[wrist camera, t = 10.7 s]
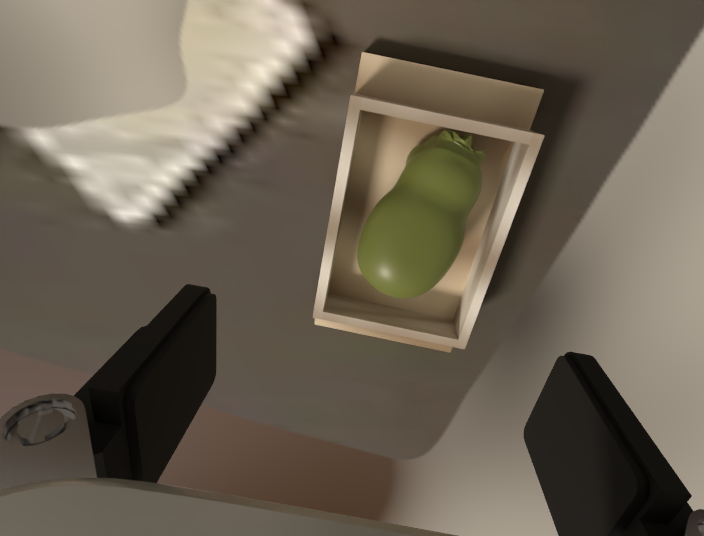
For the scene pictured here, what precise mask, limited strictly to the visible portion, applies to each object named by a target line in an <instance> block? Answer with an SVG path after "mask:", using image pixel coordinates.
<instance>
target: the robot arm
mask: <svg viewBox="0 0 704 536" xmlns="http://www.w3.org/2000/svg"><path fill="white" fill-rule="evenodd" d="M215 376H216V295H215V294H211V292H210V289H209V288H207V287H201V286H195V285H190V284H187V285H185V286H184V287H183V288H182V289H181V290H180V291H179V293H178V294H177V295H176V296H175V297H174V298H173V299H172V300H171V301H170V302H169V303H168V304H167V305H166V306H165V307H164V308H163V309H162V310H161V311H160V312H159V314H158V315H157V316H156V317H155V318H154V319H153V320H152V321H151V322H150V323H149V324H148V325H147V326H144V327H141V328H140V329H139V330H137V331H136V332H135V333H134V334H133V335H132V336H131V337H130V339H129V340H128V341H127V342H126V343H125V344H124V345H123V346H122V347H121V348H120V349H119V350H118V351H117V352H116V353H115V354H114V355H113V356H112V357H111V358H110V359H109V360H108V361H107V362H106V363H105V364H104V365H103V366H102V367H101V368H100V369H99V370H98V371H97V372H96V373H95V374H94V376H93V377H92V378H91V379H90V380H89V381H88V382H87V383H86V384H85V385H84V386H83V387H82V388H81V389H80V390H79V391H78V392H77V393H76V394H75V395H74V396H71V395H67V394H49V395H43V396H38V397H35V398H32V399H29V400H27V401H24V402H22V403H20V404H19V405H17V406H15V407H13V408H12V409H11V410H9V411H8V412H7V413H6V414H4V415H3V416H1V418H0V536H456V535H451V534H445V533H440V532H434V531H429V530H423V529H418V528H413V527H407V526H402V525H396V524H391V523H385V522H380V521H374V520H368V519H363V518H358V517H352V516H347V515H341V514H335V513H330V512H324V511H318V510H313V509H307V508H302V507H296V506H290V505H285V504H278V503H273V502H268V501H261V500H256V499H251V498H245V497H239V496H234V495H228V494H222V493H216V492H210V491H203V490H197V489H191V488H184V487H178V486H172V485H165V484H159V483H157V481H158V480H159V478H160V476H161V474H162V473H163V471H164V469H165V467H166V466H167V464H168V462H169V460H170V458H171V457H172V455H173V453H174V451H175V450H176V448H177V446H178V444H179V442H180V441H181V439H182V437H183V435H184V434H185V432H186V430H187V429H188V427H189V425H190V423H191V422H192V420H193V418H194V416H195V415H196V413H197V411H198V409H199V407H200V406H201V404H202V402H203V400H204V399H205V397H206V395H207V393H208V392H209V390H210V388H211V386H212V384H213V382H214V379H215ZM524 440H525V443H526V446H527V449H528V452H529V454H530V457H531V459H532V463H533V465H534V468H535V471H536V474H537V477H538V479H539V482H540V485H541V488H542V491H543V493H544V496H545V499H546V502H547V504H548V507H549V510H550V513H551V516H552V518H553V521H554V524H555V527H556V530H557V532H558V535H559V536H704V510H703V509H699V510H696V511H693V510H692V509H691V507H690V506H689V504H688V503H687V501H688V500H689V499H690V498H691V494H690V493H689V492H688V490H687V489H686V487H685V486H684V484H683V483H682V482H681V480H680V479H679V477H678V476H677V474H676V473H675V472H674V470H673V469H672V467H671V466H670V464H669V463H668V462H667V460H666V459H665V457H664V456H663V455H662V453H661V452H660V450H659V449H658V447H657V446H656V445H655V443H654V442H653V440H652V439H651V437H650V436H649V435H648V433H647V432H646V430H645V429H644V428H643V426H642V425H641V423H640V422H639V421H638V419H637V418H636V416H635V415H634V413H633V412H632V411H631V409H630V408H629V406H628V405H627V403H626V402H625V401H624V399H623V398H622V396H621V395H620V393H619V392H618V391H617V389H616V388H615V386H614V385H613V384H612V382H611V381H610V379H609V378H608V377H607V375H606V374H605V372H604V371H603V370H602V368H601V366H600V365H599V364H598V362H597V361H596V359H595V358H594V357H593V356H590V355H585V354H579V353H574V352H567V353H566V354H565V355H564V356H560V357H558V359H557V360H556V362H555V365H554V367H553V369H552V371H551V373H550V375H549V377H548V379H547V381H546V383H545V385H544V388H543V390H542V392H541V394H540V396H539V398H538V400H537V402H536V404H535V406H534V408H533V410H532V413H531V415H530V417H529V419H528V421H527V423H526V425H525V428H524Z"/></svg>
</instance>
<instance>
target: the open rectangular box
mask: <svg viewBox="0 0 704 536" xmlns="http://www.w3.org/2000/svg"><path fill="white" fill-rule="evenodd" d="M543 92H544V90H543V89H538V88H533V87H528V86H524V85H519V84H514V83H509V82H504V81H500V80H495V79H490V78H485V77H480V76H476V75H471V74H466V73H461V72H456V71H452V70H447V69H442V68H437V67H432V66H428V65H423V64H418V63H413V62H408V61H403V60H399V59H394V58H389V57H384V56H379V55H375V54H370V53H365V52H362V55H361V61H360V66H359V72H358V78H357V83H356V89H355V94H352V95H351V97H350V103H349V108H348V114H347V120H346V126H345V132H344V138H343V143H342V149H341V155H340V161H339V167H338V172H337V178H336V184H335V190H334V196H333V202H332V207H331V213H330V219H329V225H328V231H327V236H326V242H325V248H324V254H323V260H322V265H321V271H320V277H319V283H318V289H317V295H316V300H315V306H314V312H313V318H315V323H314V324H316V325H321V326H325V327H330V328H335V329H340V330H345V331H349V332H354V333H359V334H364V335H369V336H373V337H378V338H383V339H388V340H393V341H398V342H402V343H407V344H412V345H417V346H422V347H426V348H431V349H436V350H441V351H446V352H451V349H452V347H457V348H461V349H465V347H466V344H467V341H468V339H469V336H470V333H471V331H472V328H473V325H474V323H475V320H476V317H477V315H478V312H479V309H480V307H481V304H482V301H483V299H484V296H485V293H486V291H487V288H488V285H489V283H490V280H491V277H492V275H493V272H494V269H495V267H496V264H497V261H498V259H499V256H500V253H501V251H502V248H503V245H504V243H505V240H506V237H507V235H508V232H509V229H510V227H511V224H512V221H513V219H514V216H515V213H516V211H517V208H518V205H519V203H520V200H521V197H522V195H523V192H524V189H525V187H526V184H527V181H528V179H529V176H530V173H531V171H532V168H533V165H534V163H535V160H536V157H537V155H538V152H539V149H540V147H541V144H542V141H543V139H544V136H545V135H542V134H539V133H536V132H534V131H531V130H530V128H531V125H532V123H533V120H534V117H535V114H536V111H537V109H538V106H539V103H540V100H541V97H542V95H543ZM444 129H447V130H450V131H453V132H455V133H457V134H458V135H459V136H463V135H464V136H467V135H469V136H470V135H472V139H473V146H474V151H477V150H486V151H487V153H486V157H485V159H484V160H483V162H482V163H481V166H480V170H481V172H482V187H481V191H480V194H479V196H478V199H477V201H476V203H475V204H474V206H473V208H472V209H471V211H470V213H469V215H468V217H467V220H466V225H465V235H464V240H463V244H462V247H461V250H460V252H459V254H458V256H457V258H456V260H455V261H454V263H453V265H452V266H451V268H450V269H449V270H448V272H447V273H446V274H445V276H444V277H443V278H442V279H441V280H440V281H439V282H438V283H437V284H436V285H435V286H434V287H433V288H432V289H430V290H429V291H428V292H426V293H424V294H422V295H420V296H417V297H414V298H396V297H391V296H388V295H386V294H384V293H382V292H380V291H378V290H377V289H375V288H374V287H373V286H372V285H370V284H369V283H368V281H367V280H366V279H365V278H364V276H363V275H362V273H361V271H360V268H359V265H358V260H357V249H358V243H359V239H360V236H361V233H362V230H363V228H364V225H365V223H366V221H367V219H368V217H369V215H370V213H371V212H372V210H373V209H374V207H375V206H376V204H377V203H378V202H379V201H380V200H381V199H382V198H383V197H384V196H385V195H386V194H387V193H388V192H389V191H390V190H392V189H393V187H394V186H395V184H396V183H397V181H398V179H399V177H400V175H401V174H402V172H403V170H404V168H405V166H406V160H407V157H408V155H409V153H410V151H411V150H412V149H413V148H414V147H416V146H418V145H421V144H423V143H424V142H425V141H426V140H428V139H429V138H431V137H432V136H436V135H438V134H440V133H441V132H442V131H443V130H444ZM470 140H471V139H470ZM469 143H470V141H469ZM468 146H469V145H468ZM468 146H467V147H468Z"/></svg>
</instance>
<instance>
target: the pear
mask: <svg viewBox="0 0 704 536" xmlns="http://www.w3.org/2000/svg"><path fill="white" fill-rule="evenodd" d="M470 139H471V140H470ZM469 141H470V143H469ZM468 145H469V146H468ZM467 146H468V147H467ZM486 153H487V151H486V150H477V151H474V146H473V139H472V135H470V136H469V135H467V136H464V135H463V136H459V135H458V134H457V133H455V132H453V131H450V130H447V129H444V130H443V131H442V132H441V133H440V134H438V135H436V136H432V137H431V138H429V139H428V140H426V141H425V142H424V143H423V144H421V145H418V146H416V147H414V148H413V149H412V150H411V151H410V153H409V155H408V157H407V160H406V166H405V168H404V170H403V172H402V174H401V175H400V177H399V179H398V181H397V183H396V184H395V186H394V187H393V189H392V190H390V191H389V192H388V193H387V194H386V195H385V196H384V197H383V198H382V199H381V200H380V201H379V202H378V203H377V204H376V206H375V207H374V209H373V210H372V212H371V213H370V215H369V217H368V219H367V221H366V223H365V225H364V228H363V230H362V233H361V236H360V239H359V243H358V249H357V260H358V265H359V268H360V271H361V273H362V275H363V276H364V278H365V279H366V280H367V281H368V283H369V284H370V285H372V286H373V287H374V288H375V289H377V290H378V291H380V292H382V293H384V294H386V295H388V296H391V297H396V298H414V297H417V296H420V295H422V294H424V293H426V292H428V291H429V290H430V289H432V288H433V287H434V286H435V285H436V284H437V283H438V282H439V281H440V280H441V279H442V278H443V277H444V276H445V274H446V273H447V272H448V270H449V269H450V268H451V266H452V265H453V263H454V261H455V260H456V258H457V256H458V254H459V252H460V250H461V247H462V244H463V240H464V235H465V225H466V220H467V217H468V215H469V213H470V211H471V209H472V208H473V206H474V204H475V203H476V201H477V199H478V196H479V194H480V191H481V187H482V172H481V170H480V166H481V163H482V162H483V160H484V159H485V157H486Z"/></svg>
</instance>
